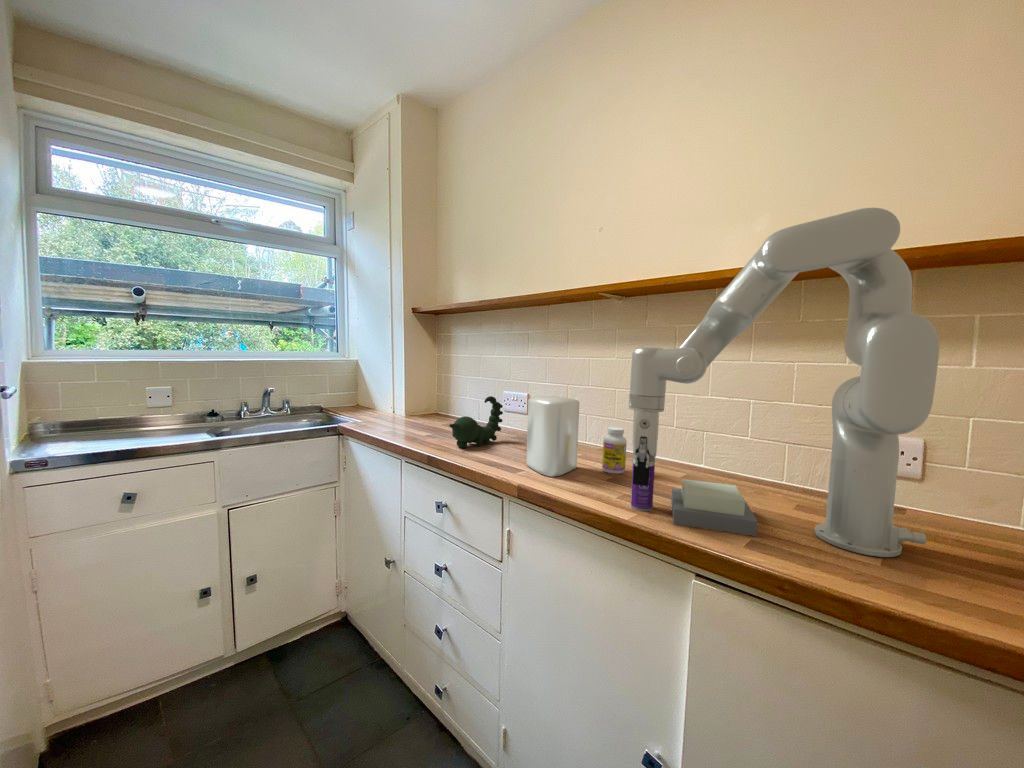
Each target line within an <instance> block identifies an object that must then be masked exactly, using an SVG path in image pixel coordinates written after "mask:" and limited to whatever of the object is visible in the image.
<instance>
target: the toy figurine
mask: <svg viewBox="0 0 1024 768" xmlns="http://www.w3.org/2000/svg"><path fill="white" fill-rule="evenodd" d="M488 402H489V403H490V404H491V409H490V416H489V417H488V422H487V423H486V425H485V426H484V425H483V426H482V425H480V424H478V422H477V420H476V419H474V418H472V417H470V416H461V417H459V418H457V419H456V420H455V421H454V422H453V423H449V425H448V426H449V428H451V432H452V436H451V437H453V438H454V440H456V446H457V447H458V448H460V449H466V448H467V447H468V444H472V443H475V444H476V445H477V446H481V445H482V446H483V444H485V445H486V446H487V445H490V444H491V440H492V441H496V440H497V439H498V438H497V437H498V436H497V435H496V433H497V432H501V431H502V427H500V425H499V423H502V422H503V419H502V418H500V416H502V415H503V414H504V412H503V411H502V410H501V409H502V408H503V404H501V403H500V402H498V401H497V399H496V397H494V396H492V395H489V396H487V397H486V398H485V399H484V403H485V404H486V403H488Z"/></svg>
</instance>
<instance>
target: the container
mask: <svg viewBox="0 0 1024 768" xmlns="http://www.w3.org/2000/svg"><path fill="white" fill-rule="evenodd" d="M646 445H647V441H646ZM638 449H639V447H638ZM649 454H650V453H649ZM635 459H636V455H634V454H633V458H632V472H631V473H632V475H631V490H630V491H631V493H630V494H631V495H630V508H632V509H634V510H636V511H638V510H639V512H650V510H651V511H652V510H653V504H654V503H653V501H654V486H655V466H656V457H653V456H651V455H649V466H648V467H650V469H649V483H648V486H642V485H635V484H633V471H634V465H635Z"/></svg>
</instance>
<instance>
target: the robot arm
mask: <svg viewBox="0 0 1024 768" xmlns="http://www.w3.org/2000/svg"><path fill="white" fill-rule="evenodd" d="M900 233H901V224H900V220H899V219H898V217H897V215H895V214H894V213H893V212H892V211H890V210H888V209H885V208H879V207H864V208H858V209H854V210H851V211H846V212H843V213H842V212H841V213H839V214H836V215H831V216H826V217H823V218H819V219H815V220H811V221H807V222H803V223H799V224H796V225H791V226H788V227H785V228H782V229H779V230H777V231H775V232H773V233H772V234H770V235H769V236H768V237H767V238H765V240H764V241H763V243H762V245H761V246H760V247H759V248H758V250H757V251H756V253H754V254H753V256H752V257H751V259H749V260H748V262H747V263H746V264H745V265H744V266H743V268H742V269H741V270H740V271H739V272H738V274H736V276H735V277H734V278H733V279H732V281H731V282H730V283H729V284H728V285H727V286H726V287H725V288H724V290H723V291H722V292H721V293H720V294H719V295H718V297H717V298H716V299H715V300H714V302H713V303H712V304H711V306H710V307H709V309H708V311H707V313H706V314H705V316H704V317H703V319H702V320H700V323H699V324H698V325H697V326H696V327H695V329H694V330H693V331H692V333H690V335H689V336H688V337H687V338H686V339H685V341H683V343H682V344H681V345H680V347H679V348H661V347H643V346H642V347H641V346H640V347H635V348H634V350H633V351H632V354H631V369H630V380H629V381H630V382H629V384H630V385H629V397H628V398H629V399H628V409H630V410H633V422H632V453H633V456H634V455H636V459H635V465H634V471H633V470H632V471H633V484H635V485H642V486H648V483H649V469H650V467H648V466H649V455H651V456H653V457H655V458H656V457H657V453H658V438H659V437H658V436H659V426H660V425H659V423H660V419H659V418H660V414H659V413H662V412H665V403H666V391H667V390H666V389H667V388H666V387H667V381H669V382H675V383H679V384H692V383H696V382H698V381H699V380H701V379H702V378H703V376H705V374H706V371H707V368H708V367H709V366H710V365H711V364H712V363H713V361H714V360H715V359H716V358H717V357H718V356H719V355H720V354H721V352H722V351H723V350H725V348H726V347H728V346H729V344H731V342H733V340H735V339H736V338H737V337H738V336H740V335H741V334H743V333H744V332H745V331H747V330H748V329H749V327H750V326H752V325H753V323H755V322H756V320H757V319H758V318H759V317H760V316H761V315H762V314H763V312H764V311H765V310H766V309H768V307H769V306H770V305H771V303H772V302H774V300H775V299H777V297H778V296H779V295H780V294H781V293H782V292H783V290H784V289H785V288H786V287H787V286H788V285H789V284H790V283H791V282H792V281H793V280H794V279H795V277H796V276H797V275H798V274H799V273H804V272H810V271H815V270H820V269H826V268H829V269H830V270H832V271H834V272H836V273H837V274H839V275H840V277H842V278H843V279H844V280H845V282H846V283H847V285H848V290H849V303H848V304H849V305H848V307H849V308H848V316H847V324H846V333H845V338H844V346H843V347H844V351H845V355H846V357H847V358H848V359H849V361H851V362H852V363H853V364H855V365H857V366H860V375H858V376H854V377H852V378H849V379H847V380H846V381H844V382H843V383H841V384H840V385H839V386H838V387H837V388H836V390H835V392H834V393H833V396H832V400H831V415H832V416H831V418H832V445H831V456H830V457H831V458H830V466H829V467H830V468H829V477H828V478H829V480H828V491H827V492H828V493H827V504H826V513H825V516H826V517H825V522H821V523H818V524H816V525H815V527H814V533H815V535H816V536H817V537H818V538H819V539H821V540H823V541H824V542H826V543H828V544H830V545H832V546H835V547H837V548H840V549H843V550H845V551H849V552H853V553H857V554H861V555H864V556H865V555H866V556H871V557H879V558H894V557H898V556H901V554H902V549H903V547H902V545H901V543H903V544H904V542H910V543H911V544H913V543H914V544H919V545H925V544H926V543H927V536H926V534H925V533H924V532H917V531H910V530H909V528H906V527H899V526H897V525H895V524H893V520H894V509H895V500H896V490H897V479H898V469H899V463H900V462H899V461H900V439H899V438H900V437H899V436H900V435H905V434H909V433H911V432H914V431H915V430H917V429H919V428H920V427H921V426H922V425H923V424H924V423H925V421H927V420H928V417H929V415H930V413H931V411H932V407H933V403H934V397H935V396H934V395H935V388H936V382H937V375H938V374H937V373H938V367H939V359H940V338H939V334H938V332H937V330H936V328H935V326H934V324H932V323H931V321H929V319H927V318H926V317H924V316H923V315H920V314H918V313H914V312H912V302H913V301H912V300H913V299H912V297H913V296H912V295H913V278H912V274H911V271H910V268H909V267H908V264H907V263H906V262H905V260H904V259H903V258H902V257H901V256H900V255H899V254H898V253H897V252H896V251H895V250H894V249H892V248H893V247H894V246H895V244H896V243H897V242H898V239H899V238H900ZM646 441H647V445H646ZM638 447H639V449H638ZM649 453H650V454H649Z"/></svg>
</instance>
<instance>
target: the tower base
mask: <svg viewBox="0 0 1024 768" xmlns="http://www.w3.org/2000/svg"><path fill="white" fill-rule="evenodd" d="M670 501H671V502H670V503H671V513H672V514H673V515H672V524H673V523H675V524H674V525H678V524H679V526H684V525H686V526H685V527H690V526H694V527H693V528H697V527H701V528H700V529H703V528H707V529H706V530H710V529H712V530H711V531H716V530H718V531H719V530H720V531H719V532H723V531H727V532H726V533H729V532H733V533H732V534H736V533H739V534H738V535H742V534H746V535H745V536H749V535H752V536H751V537H755V536H758V523H759V521H758V519H757V518H756V516H755V514H754V513H753V511H752V510H751V507H750V506H749V504H748V503H747V501H746V500H745V498H744V497H743V495H742V494H741V492H740V491H739V489H738V487H737V485H735V484H726V483H719V482H710V481H709V482H708V481H704V480H703V481H702V480H693V479H685V478H682V479H681V488H676V487H675V488H673V487H672V488H671V497H670Z"/></svg>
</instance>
